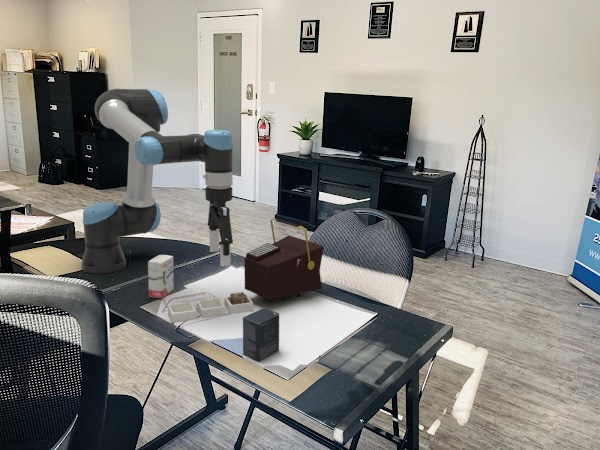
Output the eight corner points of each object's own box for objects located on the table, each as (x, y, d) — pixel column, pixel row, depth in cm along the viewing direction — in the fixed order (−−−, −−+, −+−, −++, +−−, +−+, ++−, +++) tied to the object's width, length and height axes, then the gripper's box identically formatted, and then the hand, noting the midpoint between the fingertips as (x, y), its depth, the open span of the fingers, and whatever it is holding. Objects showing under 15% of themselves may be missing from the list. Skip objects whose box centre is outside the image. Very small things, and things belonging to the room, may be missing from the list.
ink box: (163, 299, 157) (161, 262, 154) (148, 297, 158) (146, 261, 155) (175, 289, 165) (173, 255, 162) (161, 288, 166) (159, 253, 163)
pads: (162, 298, 158) (162, 297, 158) (235, 288, 167) (235, 288, 167) (165, 307, 152) (165, 306, 152) (241, 296, 161) (241, 295, 161)
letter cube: (230, 305, 153) (230, 293, 152) (242, 303, 155) (242, 291, 154) (234, 311, 149) (234, 298, 148) (246, 309, 151) (246, 296, 150)
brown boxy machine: (324, 294, 165) (328, 221, 158) (274, 316, 148) (276, 235, 142) (289, 281, 176) (291, 212, 169) (238, 299, 159) (238, 223, 153)
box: (263, 343, 132) (264, 306, 130) (279, 351, 129) (280, 313, 126) (242, 354, 126) (242, 316, 124) (258, 362, 123) (258, 323, 120)
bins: (168, 313, 147) (167, 304, 147) (246, 302, 157) (246, 294, 156) (172, 324, 141) (171, 314, 140) (253, 312, 151) (253, 302, 150)
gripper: (196, 179, 149) (198, 246, 155) (215, 195, 127) (216, 273, 133) (221, 178, 152) (222, 244, 158) (244, 194, 130) (244, 270, 136)
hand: (219, 258), depth 145 cm, fingers open, 13 cm apart
